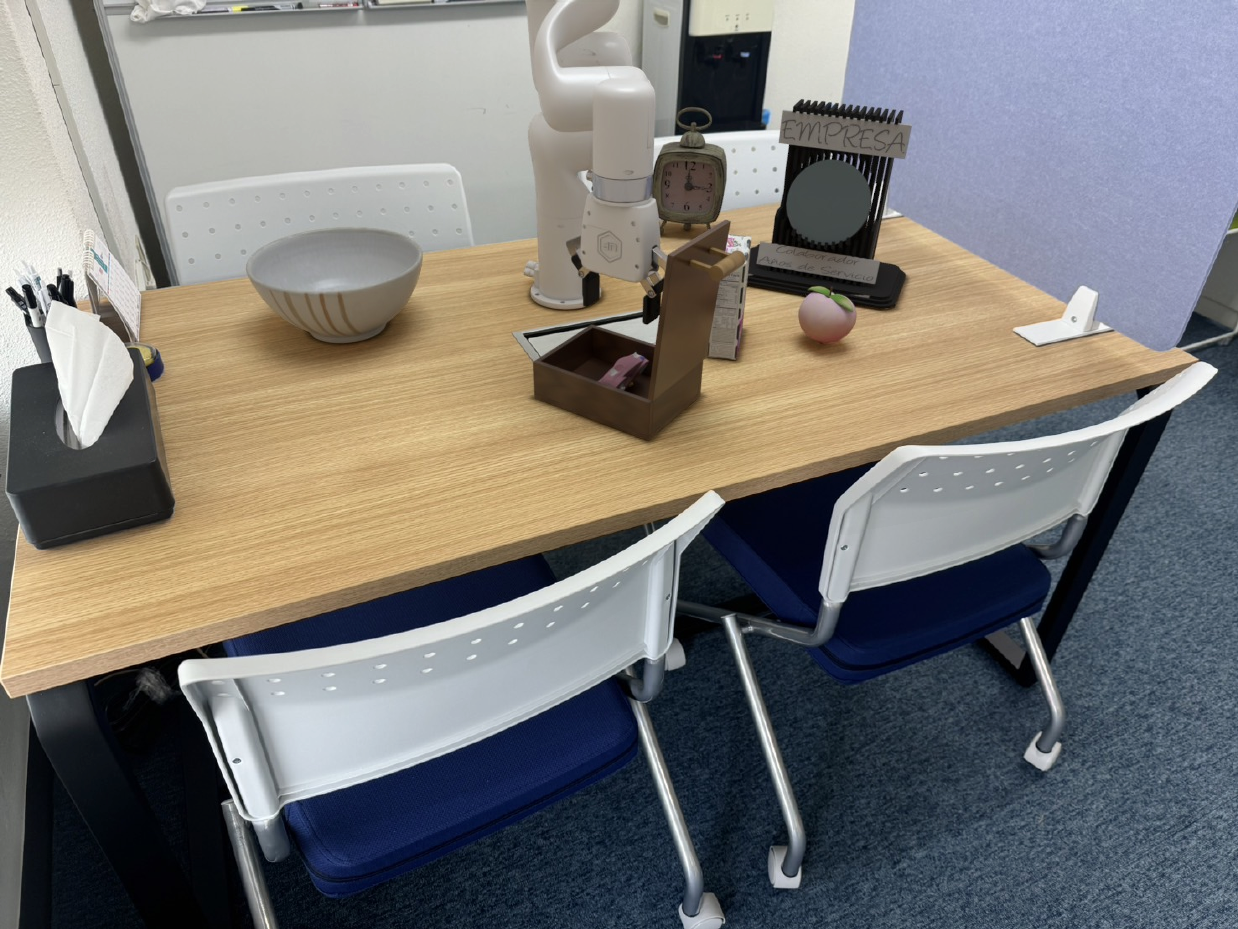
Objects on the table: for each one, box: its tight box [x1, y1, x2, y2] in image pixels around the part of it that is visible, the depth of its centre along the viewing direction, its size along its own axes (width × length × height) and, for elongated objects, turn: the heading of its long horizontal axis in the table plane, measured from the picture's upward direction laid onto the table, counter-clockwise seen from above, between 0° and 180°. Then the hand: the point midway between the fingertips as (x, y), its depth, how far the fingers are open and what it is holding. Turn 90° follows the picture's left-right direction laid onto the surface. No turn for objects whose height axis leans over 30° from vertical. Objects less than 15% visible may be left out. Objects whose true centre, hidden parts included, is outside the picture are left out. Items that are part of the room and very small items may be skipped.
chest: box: [532, 324, 704, 442], centre depth 125 cm, size 20×15×6 cm
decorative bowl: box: [245, 226, 424, 344], centre depth 140 cm, size 27×27×12 cm
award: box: [747, 98, 913, 310], centre depth 154 cm, size 30×19×30 cm, turn 67°
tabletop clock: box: [652, 106, 728, 236], centre depth 174 cm, size 14×9×25 cm, turn 81°
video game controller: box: [598, 352, 649, 391], centre depth 124 cm, size 10×5×7 cm, turn 148°
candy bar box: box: [707, 233, 753, 361], centre depth 136 cm, size 11×5×16 cm, turn 168°
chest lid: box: [648, 219, 746, 401], centre depth 111 cm, size 20×15×6 cm
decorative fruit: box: [797, 286, 858, 345], centre depth 138 cm, size 9×8×10 cm
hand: (620, 311), depth 118 cm, fingers open, 9 cm apart
